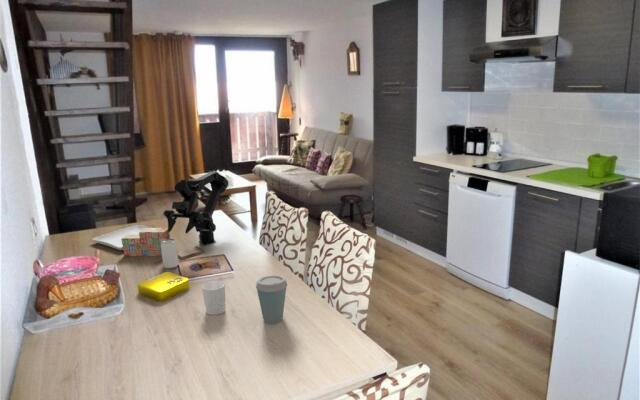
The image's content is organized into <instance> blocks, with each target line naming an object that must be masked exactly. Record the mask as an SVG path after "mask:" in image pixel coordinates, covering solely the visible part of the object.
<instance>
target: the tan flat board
mask: <svg viewBox="0 0 640 400" xmlns="http://www.w3.org/2000/svg"><path fill="white" fill-rule="evenodd" d="M205 251H206V250H205V249H204V248H202V247H200V246H198V245H195V246H192V247H188V248H184V249H182V250H179V251H178V250H177V255H178V259H180V260H184V259H188V258H190V257H194V256H197V255H200V254H203V253H206V252H205Z"/></svg>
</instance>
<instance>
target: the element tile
mask: <svg viewBox="0 0 640 400" xmlns="http://www.w3.org/2000/svg"><path fill="white" fill-rule="evenodd" d="M190 288H191V287H190V280H189V278H188V277H185V276H184V275H183V276H182V275H179V274H176V273H173V272H170V271H166V272H162V273H160V274H158V275H155V276H154V277H150V278H148V279H146V280H143V281H140V282H139V283H137V290H138V295H140V296H142V297H145V298H147V299H150V300H152V301H154V302H158V303H159V302H164V301H167V300H169V299H171V298H173V297H175V296H178V295H179V294H181V293H184V292H185V291H188V290H189V289H190Z"/></svg>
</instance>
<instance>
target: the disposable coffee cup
mask: <svg viewBox="0 0 640 400" xmlns="http://www.w3.org/2000/svg"><path fill="white" fill-rule="evenodd" d="M287 287H288V282H287V279H286V277H284V276H282V275H275V274H273V275H265V276H262V277H260V278H259V279H258V280H257V281H256V282H255V289H256V291H257V295H258V296H257V297H258V300H259V306H260V310H261V315H262V319H263V322H265V323H266V324H271V325H272V324H277V323H280V322H282V321H283V318H284V309H285V303H286V302H285V301H286V294H287V293H286V292H287Z"/></svg>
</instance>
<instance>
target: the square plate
mask: <svg viewBox="0 0 640 400" xmlns="http://www.w3.org/2000/svg"><path fill="white" fill-rule="evenodd" d="M144 228H151V227H150V226H146V225H140V224H134V225H132V226H127V227H124V228H121V229H117V230H115V231H111V232H108V233H104V234H103V235H99V236H95V237H93V238H92V239H91V240H92V241H93V242H95V243H97V244H101V245H104V246H107V247H110V248H113V249H116V250H118V251H124V250H123V244H122V238H123V237H124V236H126V235H127V234H139V232H140V231H141V230H143V229H144Z"/></svg>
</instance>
